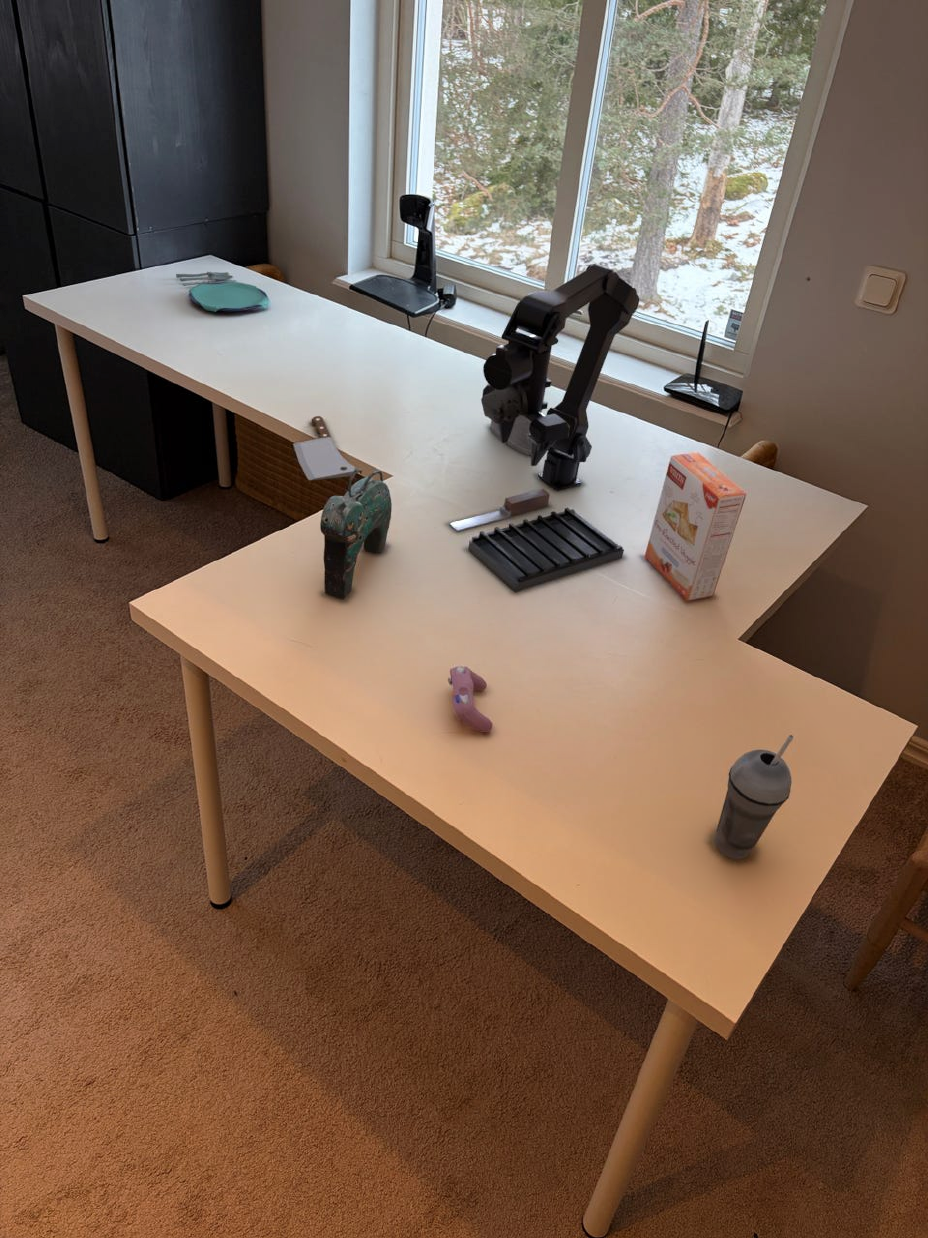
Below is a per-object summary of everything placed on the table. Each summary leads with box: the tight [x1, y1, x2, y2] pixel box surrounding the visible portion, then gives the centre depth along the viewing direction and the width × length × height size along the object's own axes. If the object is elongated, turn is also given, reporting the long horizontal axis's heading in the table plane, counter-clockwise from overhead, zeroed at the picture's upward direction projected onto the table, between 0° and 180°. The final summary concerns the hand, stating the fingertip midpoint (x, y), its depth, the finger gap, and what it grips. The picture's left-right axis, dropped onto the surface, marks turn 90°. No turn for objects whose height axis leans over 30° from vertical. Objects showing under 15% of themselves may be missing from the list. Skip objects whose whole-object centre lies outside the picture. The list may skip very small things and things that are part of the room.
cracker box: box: [644, 451, 747, 602], centre depth 160 cm, size 14×6×21 cm, turn 23°
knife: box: [449, 488, 551, 533], centre depth 176 cm, size 21×3×3 cm, turn 124°
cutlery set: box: [175, 271, 270, 313], centre depth 250 cm, size 20×30×2 cm, turn 30°
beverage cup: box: [714, 734, 794, 860], centre depth 113 cm, size 7×7×20 cm
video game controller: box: [447, 665, 494, 733], centre depth 132 cm, size 10×5×7 cm, turn 5°
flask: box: [490, 388, 547, 456], centre depth 196 cm, size 4×14×18 cm, turn 34°
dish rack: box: [467, 507, 625, 593], centre depth 167 cm, size 24×14×3 cm, turn 124°
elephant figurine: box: [319, 468, 393, 600], centre depth 152 cm, size 20×6×20 cm, turn 160°
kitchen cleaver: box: [292, 415, 356, 481], centre depth 189 cm, size 24×1×10 cm
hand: (518, 453), depth 171 cm, fingers open, 9 cm apart
